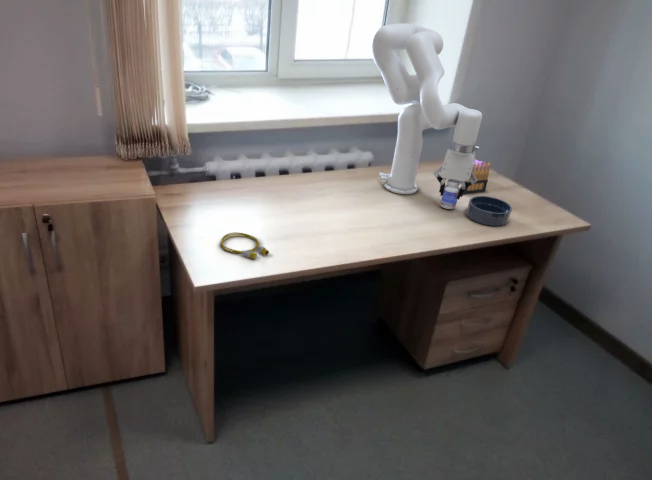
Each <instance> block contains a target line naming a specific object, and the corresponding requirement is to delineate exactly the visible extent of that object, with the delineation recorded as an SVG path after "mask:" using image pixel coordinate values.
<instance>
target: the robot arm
mask: <svg viewBox="0 0 652 480" xmlns="http://www.w3.org/2000/svg"><path fill="white" fill-rule="evenodd" d="M370 43H371V44H370V51H371V52H370V53H371V57H372V59H373V62H374V65H376V68H377V69H378V71H379V73H380V75H381V77H382V79H383V82H384V85H385V86H386V88H387V91H388V94H389V95H390V98H391V100H392V102H393V103H395V104H396V105H400V106H401V105H402V106H403V105H408V104H410V105H408V106H406V107H403V109H402V110H401V111H400V113H399V114H398V117H397V134H396V135H397V136H396V142H395V149H394V154H393V159H392V164H391V171H390V173H384V172H379V174H378V178H379V179H380V180H381V181H384V188H385V189H386V190H388V191H389V192H392V193H394V194H399V195H412V194H416V192H417V191H418V185H417V184H416V183H415V182H416V177H417V172H418V168H419V164H420V159H421V154H422V150H423V144H424V143H423V142H424V139H423V131H425V130H429V129H431V128H432V129H434V130H438V131H440V130H444V129H447V128H453V127H454V132H453V136H452V141H451V145H450V147H448V149H447V150H446V153H445V156H444V159H443V162H442V165H441V166H440V167H438V168H437V169H436V170H434V171H433V173H432V174H433V175H434V177H435V178H436V179H437V181H438V183H439V190H438V193H440V194H439V197H442V195H443V191H444V187H445V186H446V181H448V180H449V179H453V180H458V181H459V182H460V184H461V185H460V187H459V188H460V190H459V194H458V198H457V201H459V200H460V198H462V197H463V196H464V194H463V192H464V189H465V188H467V187H469V186H470V185H472V184H474V183H476V182H477V179H476V177H475V175H474V173H473V172H472V170H473V166H474V160H475V159H476V152H475V151H479V148H480V146H478V145H477V144H476V142H477V139H478V135H479V131H480V128H481V125H482V120H483V113H482V112H481V111H480V110H477V109H473V108H468V107H466V106H464V105H462V104H460V103H457V102H451V103H446V104H443V103H442V101H441V98H440V95H439V89H438V86H439V83H440V81H441V79H442V78H443V76H444V74H445V69H444V66H443V65H442V64H443V63H442V62H441V60H440V57H439V55H440V54H441V53H442V51H443V48H444V41H443V37H442V35H441V34H440V33H439V32H437V31H435V30H433V29H431V28H427V27H424V26H422V25H421V26H420V25H417V24H415V23H410V22H404V23H402V22H401V23H391V24H385V25H382V26H380V27H379V28H377V30H376V31H374V34H373V35H372V38H371V42H370ZM399 50H405V51H406V54H407V56H408V59H409V60H410V63H411V65H412V67H413V69H414V71H415V74H410V73H409V72H408V69H407V68H406V66H405V63H404V61H403V60H402V58H400V57H399V55H397V53H396V51H399ZM470 177H471V179H472V180H471V181H469V179H470ZM467 181H468V182H467ZM466 182H467V183H466Z"/></svg>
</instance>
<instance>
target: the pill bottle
mask: <svg viewBox="0 0 652 480" xmlns="http://www.w3.org/2000/svg"><path fill="white" fill-rule="evenodd" d="M446 183H447V184H445V187H444V191H443V195H442V196H441V200H440V205H439V206H440V207H442V208H444V209H447V210H453V209H455V208H456V207H457V203H458V199H457V198H458V194H459V190H460V187H459V185H460V181H458V180H453V179H447V182H446Z"/></svg>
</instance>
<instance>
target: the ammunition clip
mask: <svg viewBox="0 0 652 480" xmlns="http://www.w3.org/2000/svg"><path fill="white" fill-rule="evenodd" d="M483 162H484V161H483ZM483 162H482V163H481V165H480V167H479V163H478V164H477V166H476V164H475V163H474V166H473V170H472V172H473V173H474V175H475V177H476V179H477V182H476V183H474V184H472V185H470V186H469V187H467V188H465V189H464V192H463V195H469V194H477V193H485V192H486V190H487V185H488V181H489V179H488V178H489V175H490V169H491V166H492V165H491V164H492V163H491V161H489V162H487V161H486V162H484V163H485V164H484V166H483ZM475 167H476V169H475ZM471 180H472V179H471V177H470V179H469V181H471ZM467 182H468V181H467ZM467 182H466V183H467Z"/></svg>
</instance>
